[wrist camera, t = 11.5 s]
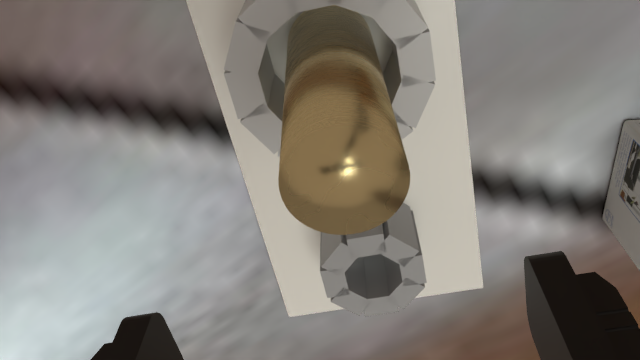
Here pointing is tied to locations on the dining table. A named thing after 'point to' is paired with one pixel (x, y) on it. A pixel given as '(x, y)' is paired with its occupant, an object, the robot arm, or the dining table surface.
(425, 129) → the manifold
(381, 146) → the brass cylinder
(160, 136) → the dining table surface
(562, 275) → the robot arm
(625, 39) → the dining table surface
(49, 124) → the dining table surface
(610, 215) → the light bulb box
